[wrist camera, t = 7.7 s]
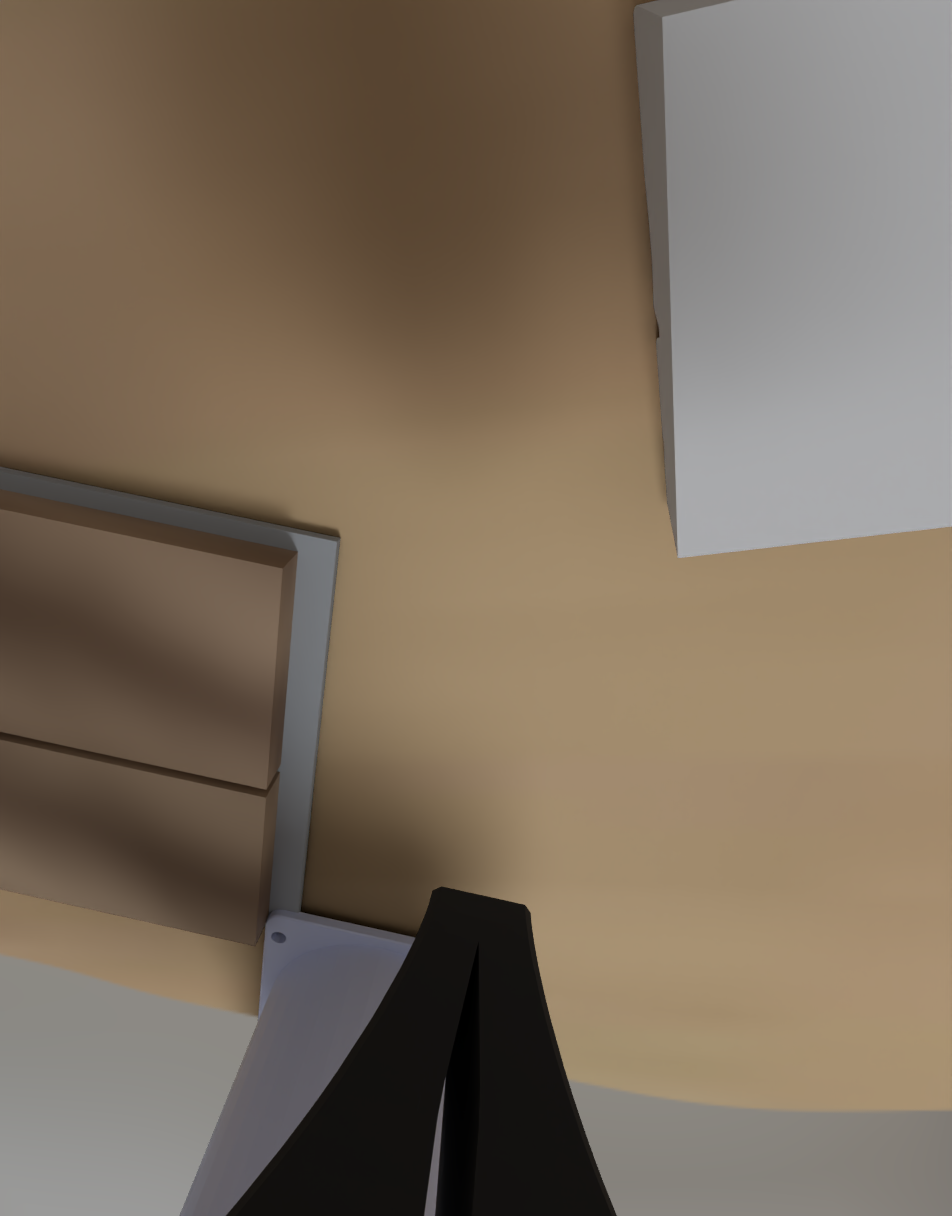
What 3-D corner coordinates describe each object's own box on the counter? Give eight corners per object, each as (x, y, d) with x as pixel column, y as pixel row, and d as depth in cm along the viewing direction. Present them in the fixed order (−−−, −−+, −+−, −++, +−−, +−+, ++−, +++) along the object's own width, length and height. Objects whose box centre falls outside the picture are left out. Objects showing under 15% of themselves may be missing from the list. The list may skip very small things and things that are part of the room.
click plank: (281, 764, 23) (266, 789, 22) (-165, 667, 23) (-200, 687, 22) (298, 551, 20) (282, 568, 19) (-214, 444, 20) (-258, 454, 19)
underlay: (298, 926, 26) (296, 933, 26) (-146, 827, 26) (-154, 833, 26) (340, 538, 20) (337, 541, 20) (-244, 415, 20) (-255, 417, 20)
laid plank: (268, 917, 26) (255, 946, 25) (-129, 829, 26) (-159, 853, 25) (280, 772, 23) (265, 798, 22) (-163, 675, 23) (-198, 696, 22)
